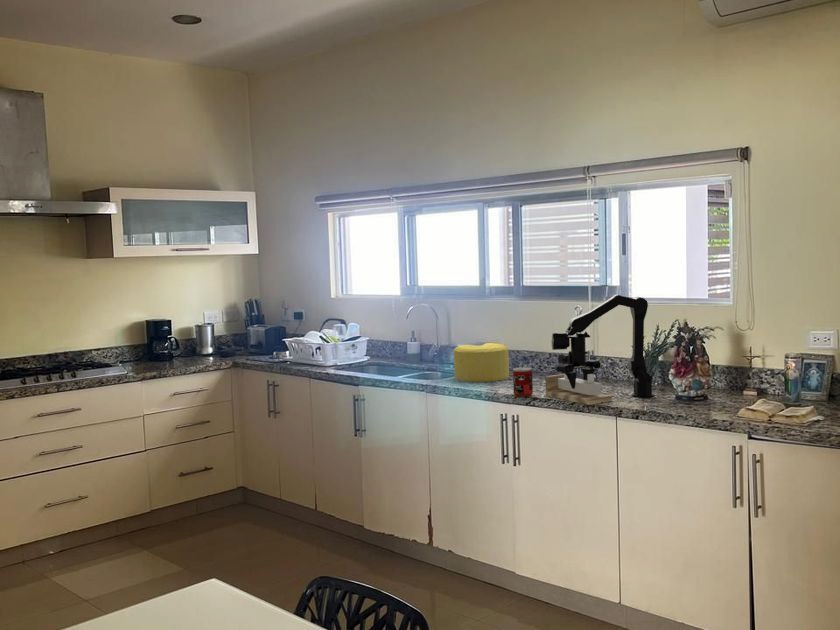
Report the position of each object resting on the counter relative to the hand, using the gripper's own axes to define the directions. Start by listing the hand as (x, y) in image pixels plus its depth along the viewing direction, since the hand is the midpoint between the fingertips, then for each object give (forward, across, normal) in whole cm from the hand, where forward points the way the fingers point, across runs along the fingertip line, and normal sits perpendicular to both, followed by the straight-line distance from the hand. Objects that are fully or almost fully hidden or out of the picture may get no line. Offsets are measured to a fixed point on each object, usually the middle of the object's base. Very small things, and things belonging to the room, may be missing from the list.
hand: (579, 387), depth 316 cm
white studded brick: (+1, 0, 0) cm, 1 cm away
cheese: (+5, -3, -71) cm, 71 cm away
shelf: (+4, 0, 0) cm, 5 cm away
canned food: (+5, +11, -22) cm, 25 cm away
